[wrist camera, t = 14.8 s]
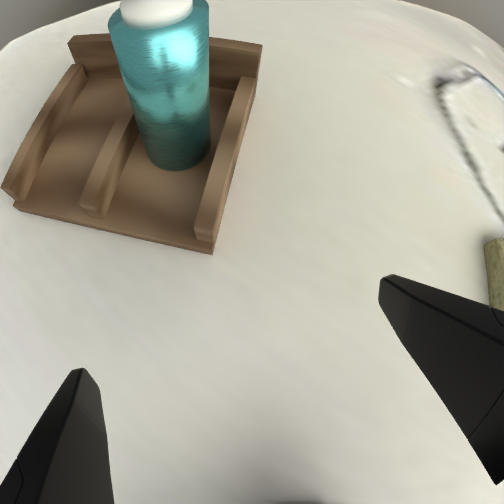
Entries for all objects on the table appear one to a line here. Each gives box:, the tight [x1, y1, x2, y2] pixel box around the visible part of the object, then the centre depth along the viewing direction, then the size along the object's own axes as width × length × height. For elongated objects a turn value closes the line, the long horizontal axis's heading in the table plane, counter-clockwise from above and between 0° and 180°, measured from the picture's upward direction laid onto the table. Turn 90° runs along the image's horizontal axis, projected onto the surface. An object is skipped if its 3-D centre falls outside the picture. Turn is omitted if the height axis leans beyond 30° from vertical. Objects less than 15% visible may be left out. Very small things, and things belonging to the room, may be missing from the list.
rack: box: [0, 33, 262, 255], centre depth 22 cm, size 16×18×6 cm
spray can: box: [108, 0, 211, 171], centre depth 18 cm, size 5×5×14 cm
